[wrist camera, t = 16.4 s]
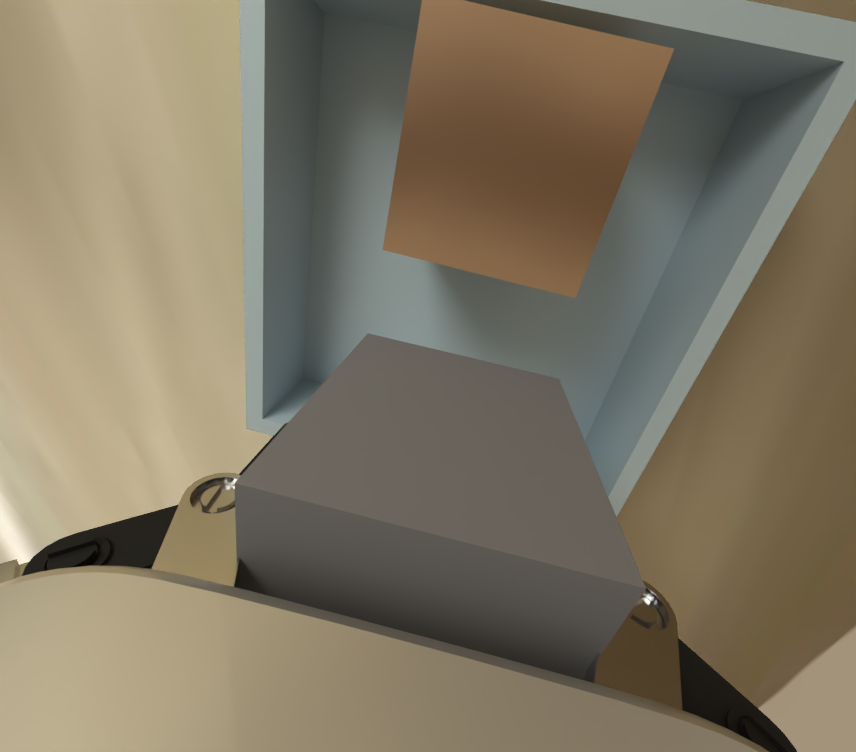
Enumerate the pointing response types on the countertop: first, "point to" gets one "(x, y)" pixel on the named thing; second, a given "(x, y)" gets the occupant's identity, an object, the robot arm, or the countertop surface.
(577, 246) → the walnut block
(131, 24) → the countertop surface
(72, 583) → the robot arm
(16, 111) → the countertop surface
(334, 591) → the charcoal block
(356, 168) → the bin
